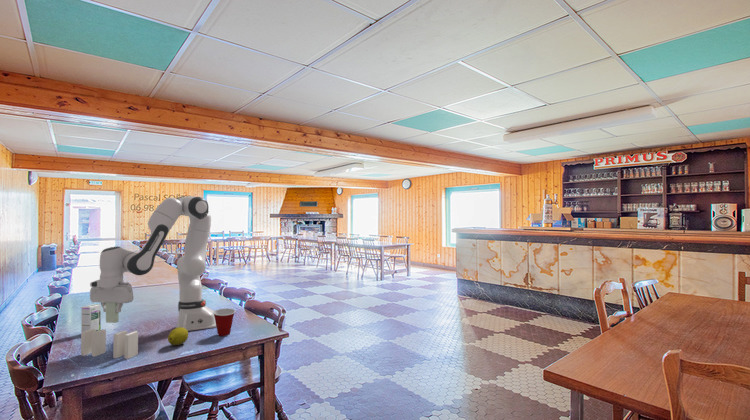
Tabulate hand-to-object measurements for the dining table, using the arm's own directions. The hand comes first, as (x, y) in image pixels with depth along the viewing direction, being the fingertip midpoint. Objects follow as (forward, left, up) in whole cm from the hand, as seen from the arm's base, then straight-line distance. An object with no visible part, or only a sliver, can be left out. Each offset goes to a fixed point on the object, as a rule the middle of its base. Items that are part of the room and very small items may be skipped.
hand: (112, 312), depth 168 cm
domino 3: (0, 0, -5) cm, 5 cm away
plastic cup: (-48, -6, -16) cm, 51 cm away
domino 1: (+7, +6, -16) cm, 19 cm away
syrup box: (+19, -26, -16) cm, 36 cm away
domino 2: (+2, +8, -16) cm, 18 cm away
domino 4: (-8, +13, -16) cm, 22 cm away
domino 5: (-13, +15, -16) cm, 26 cm away
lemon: (-29, +5, -16) cm, 34 cm away
